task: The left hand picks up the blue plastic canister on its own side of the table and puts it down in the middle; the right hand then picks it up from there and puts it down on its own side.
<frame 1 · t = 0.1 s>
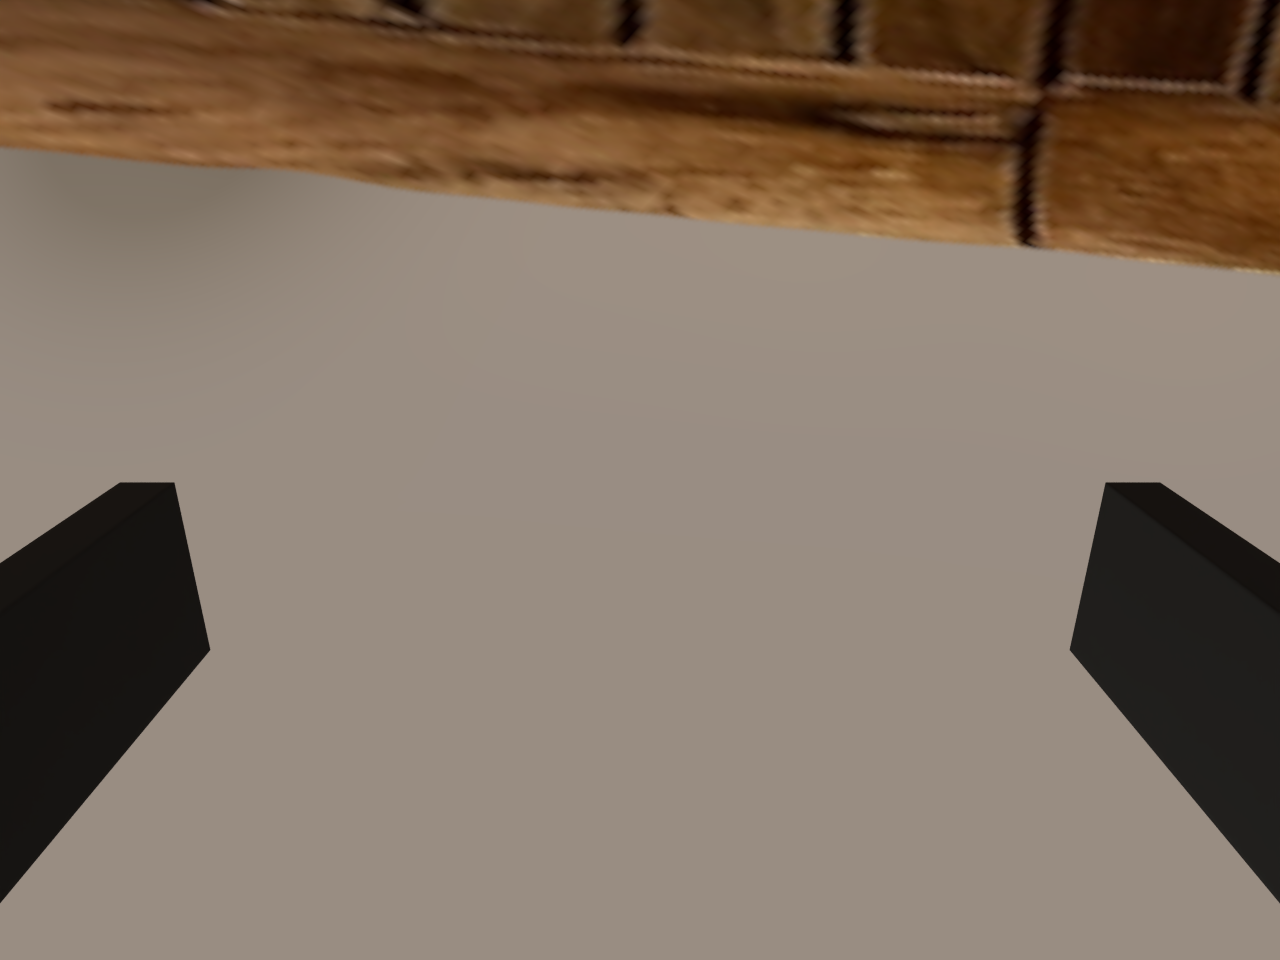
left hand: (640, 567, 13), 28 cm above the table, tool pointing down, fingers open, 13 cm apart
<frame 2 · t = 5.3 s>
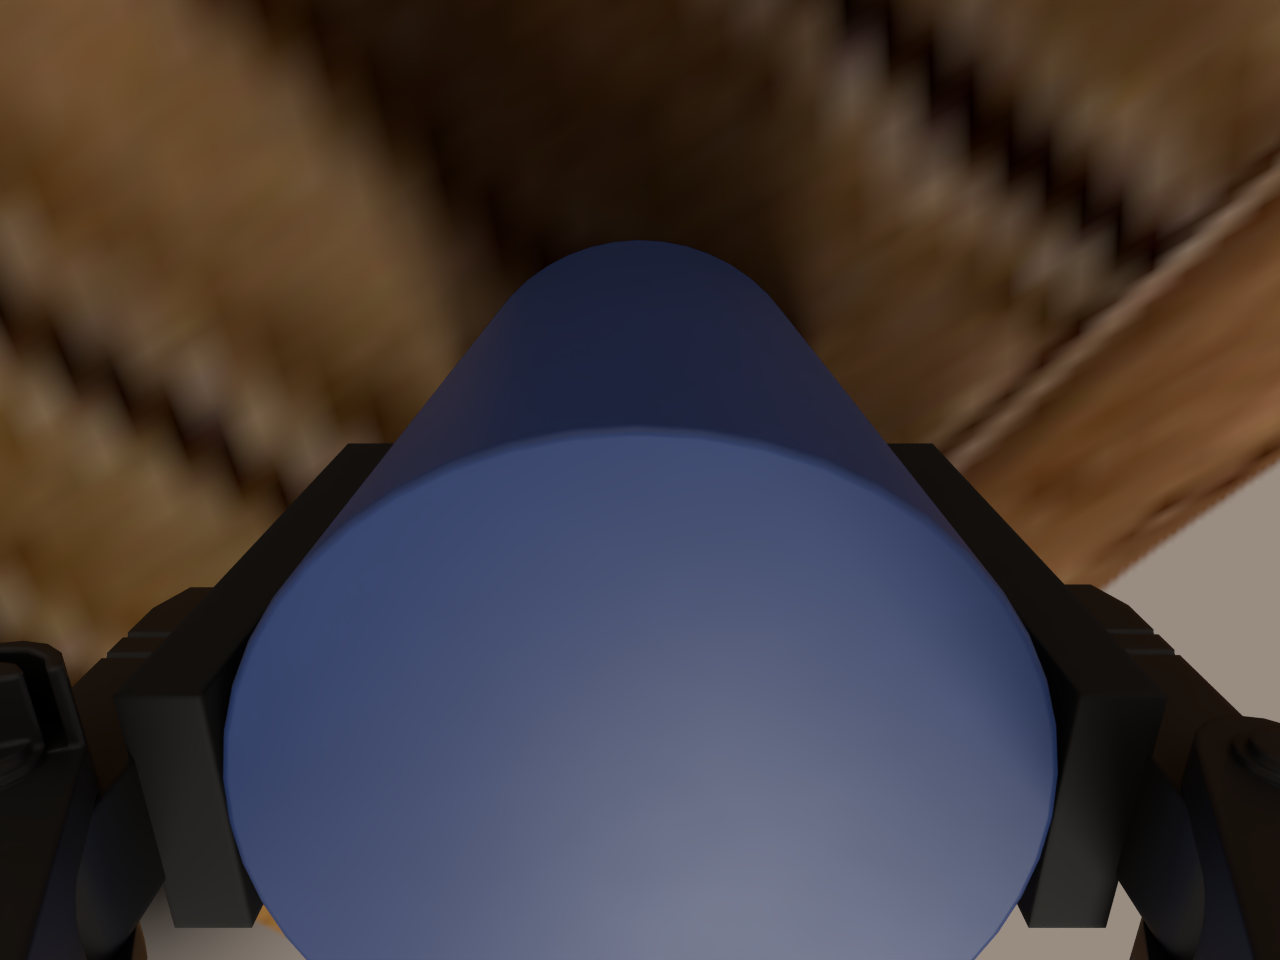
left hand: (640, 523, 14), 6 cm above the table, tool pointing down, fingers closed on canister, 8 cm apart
canister: (640, 416, 19), on the table, touching left hand
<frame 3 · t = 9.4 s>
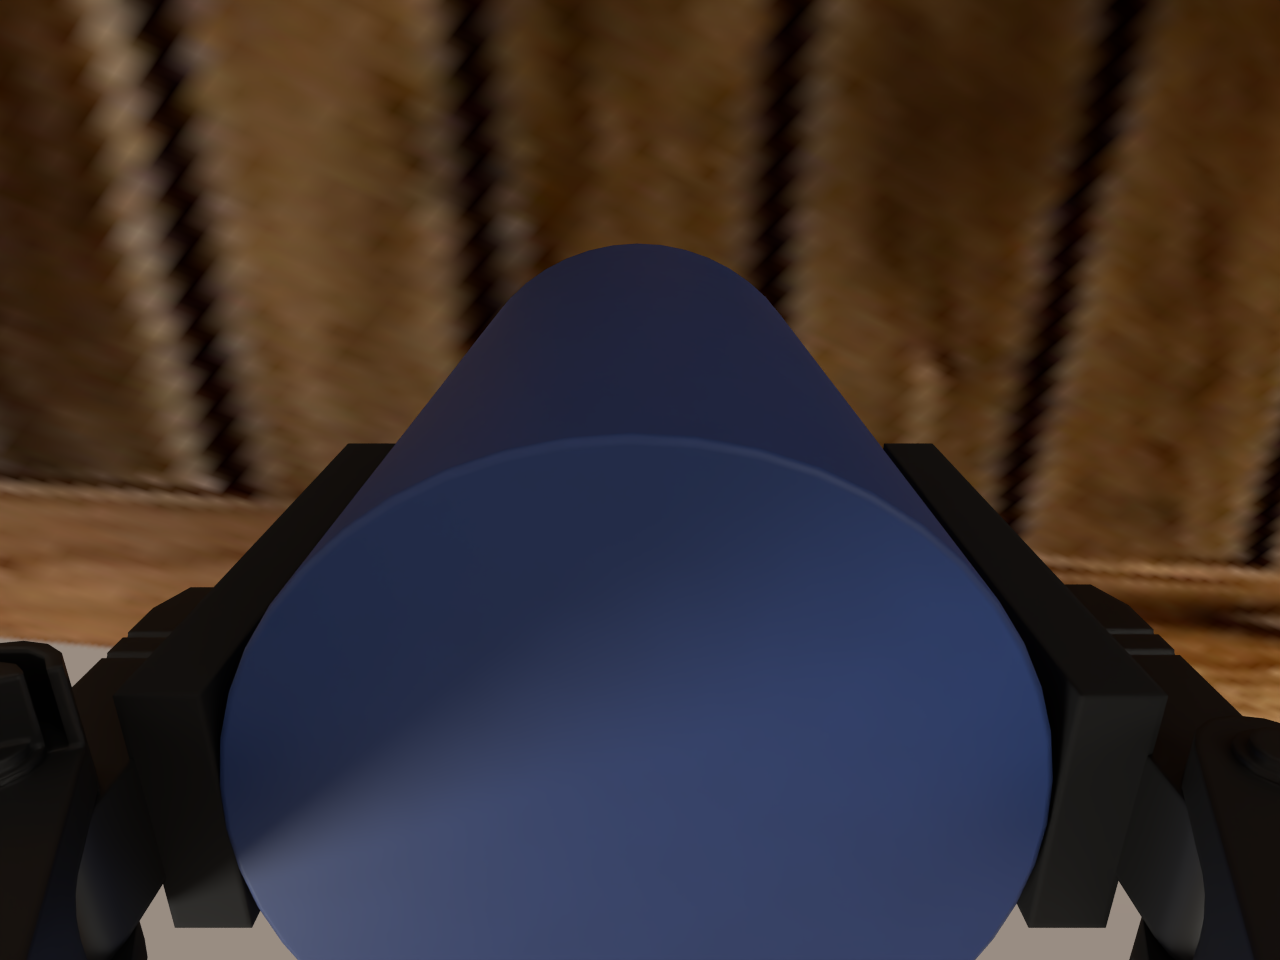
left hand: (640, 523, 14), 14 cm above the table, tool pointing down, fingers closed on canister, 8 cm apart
canister: (638, 419, 19), point 8 cm above the table, touching left hand
when the left hand's fingers open (7 cm above the table, at t = 13.3 s): canister drops 1 cm, on the table.
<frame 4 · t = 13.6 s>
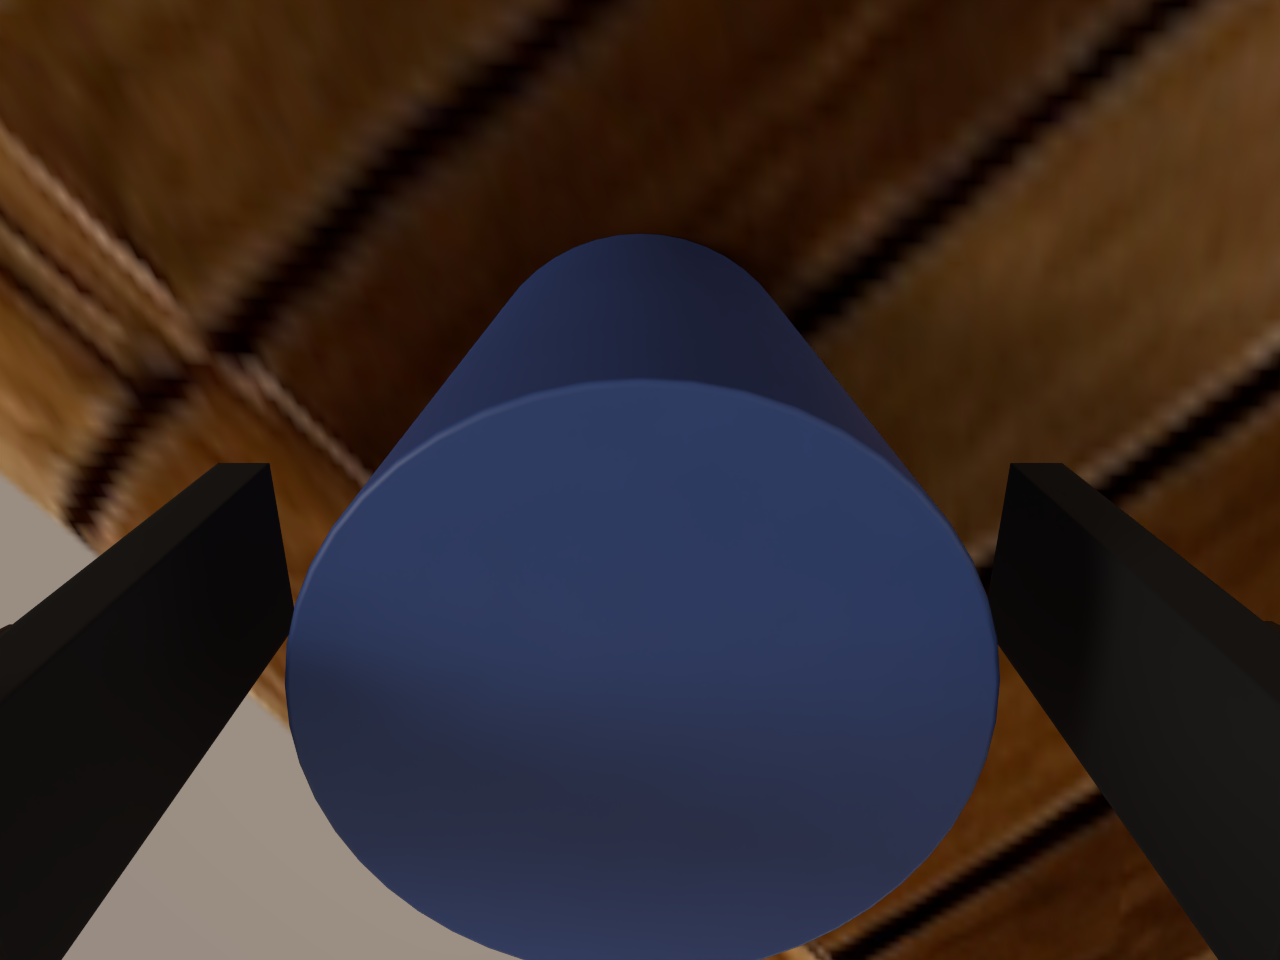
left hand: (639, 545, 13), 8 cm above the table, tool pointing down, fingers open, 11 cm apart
canister: (641, 399, 21), on the table
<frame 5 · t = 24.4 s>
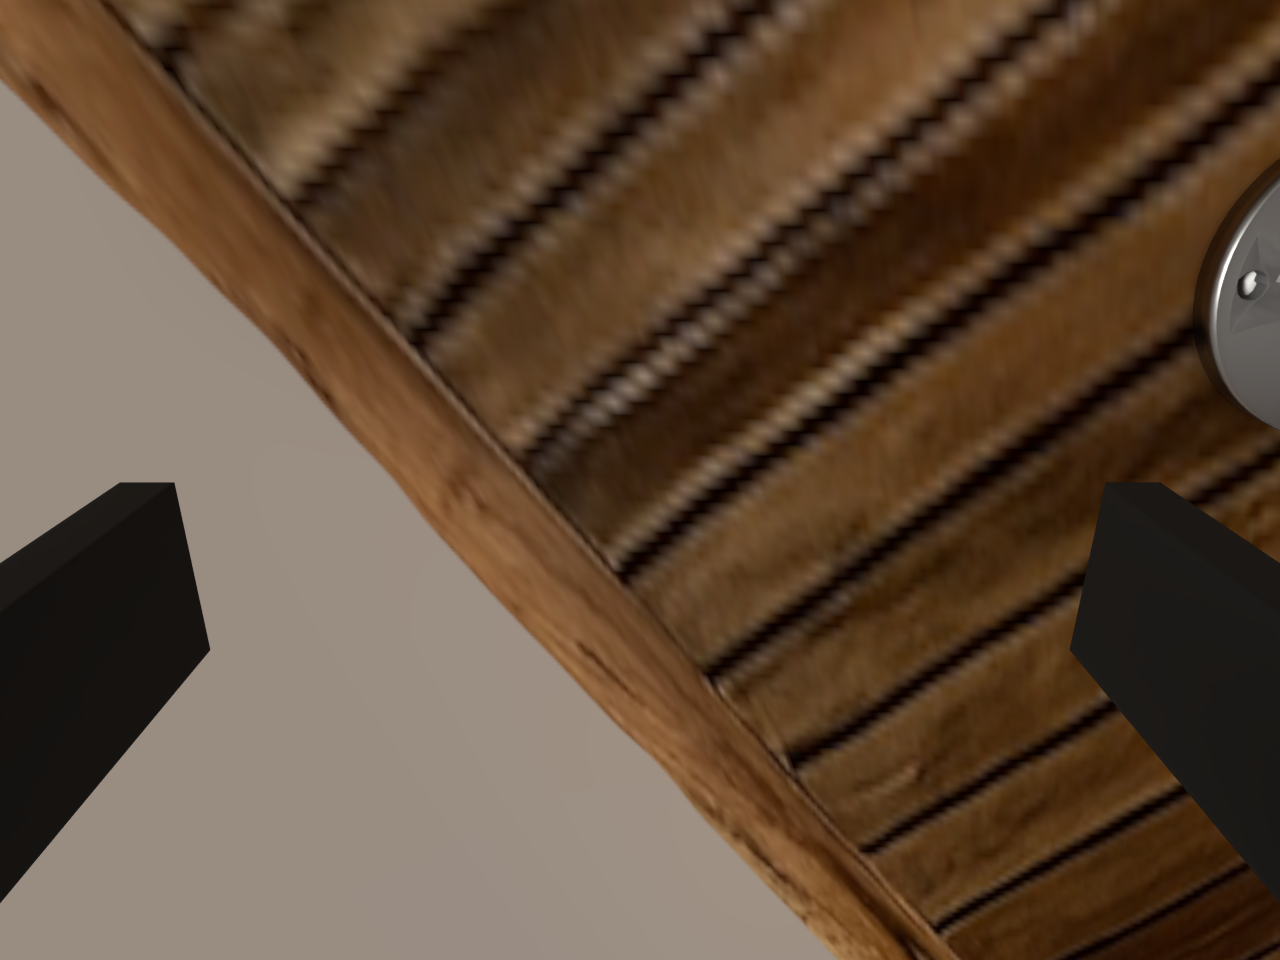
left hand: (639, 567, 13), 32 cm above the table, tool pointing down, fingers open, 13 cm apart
when the right hand's fingers open (7 cm above the table, at t = 28.9 s): canister drops 1 cm, on the table.
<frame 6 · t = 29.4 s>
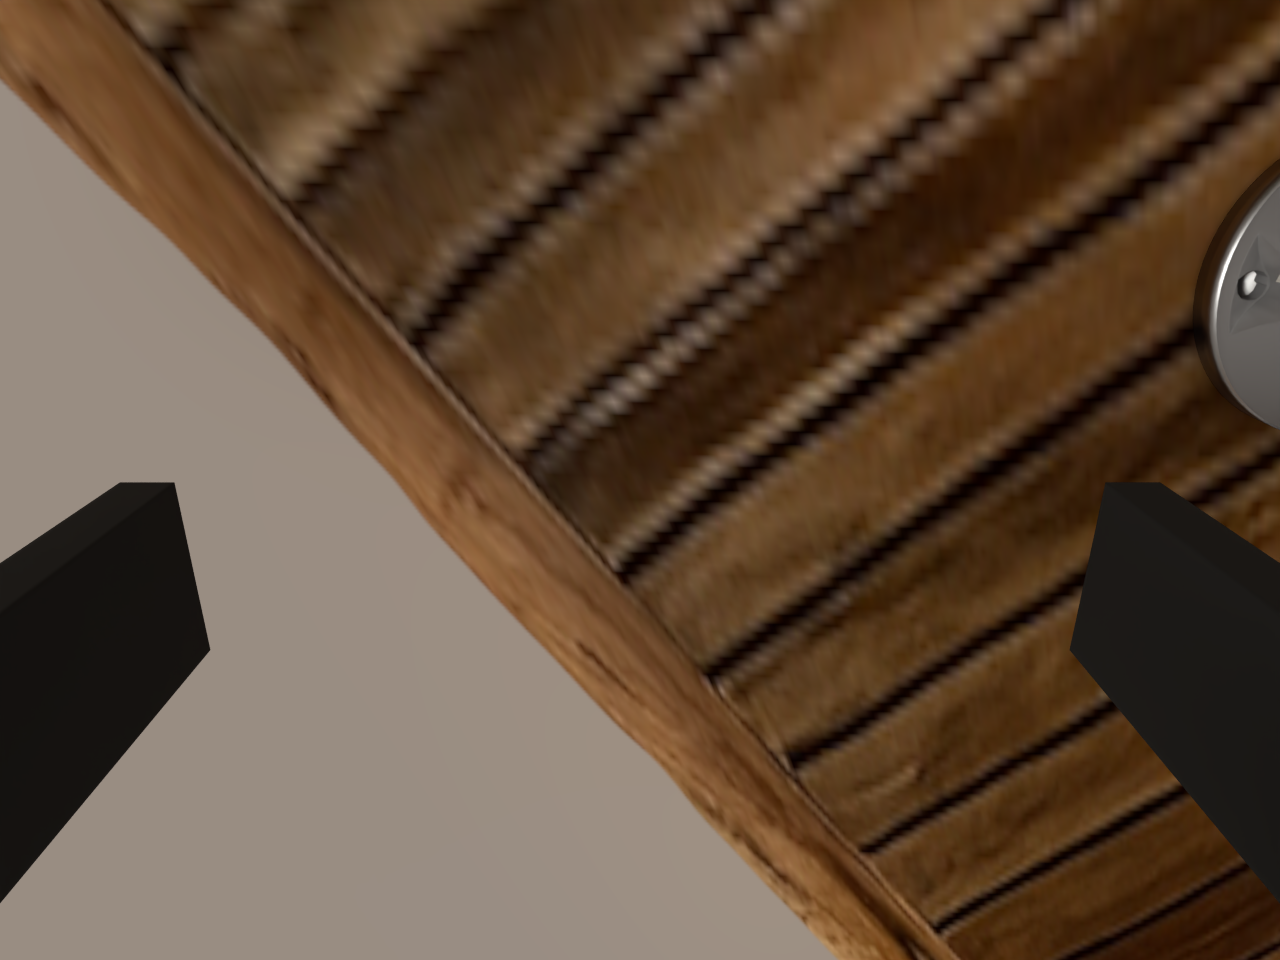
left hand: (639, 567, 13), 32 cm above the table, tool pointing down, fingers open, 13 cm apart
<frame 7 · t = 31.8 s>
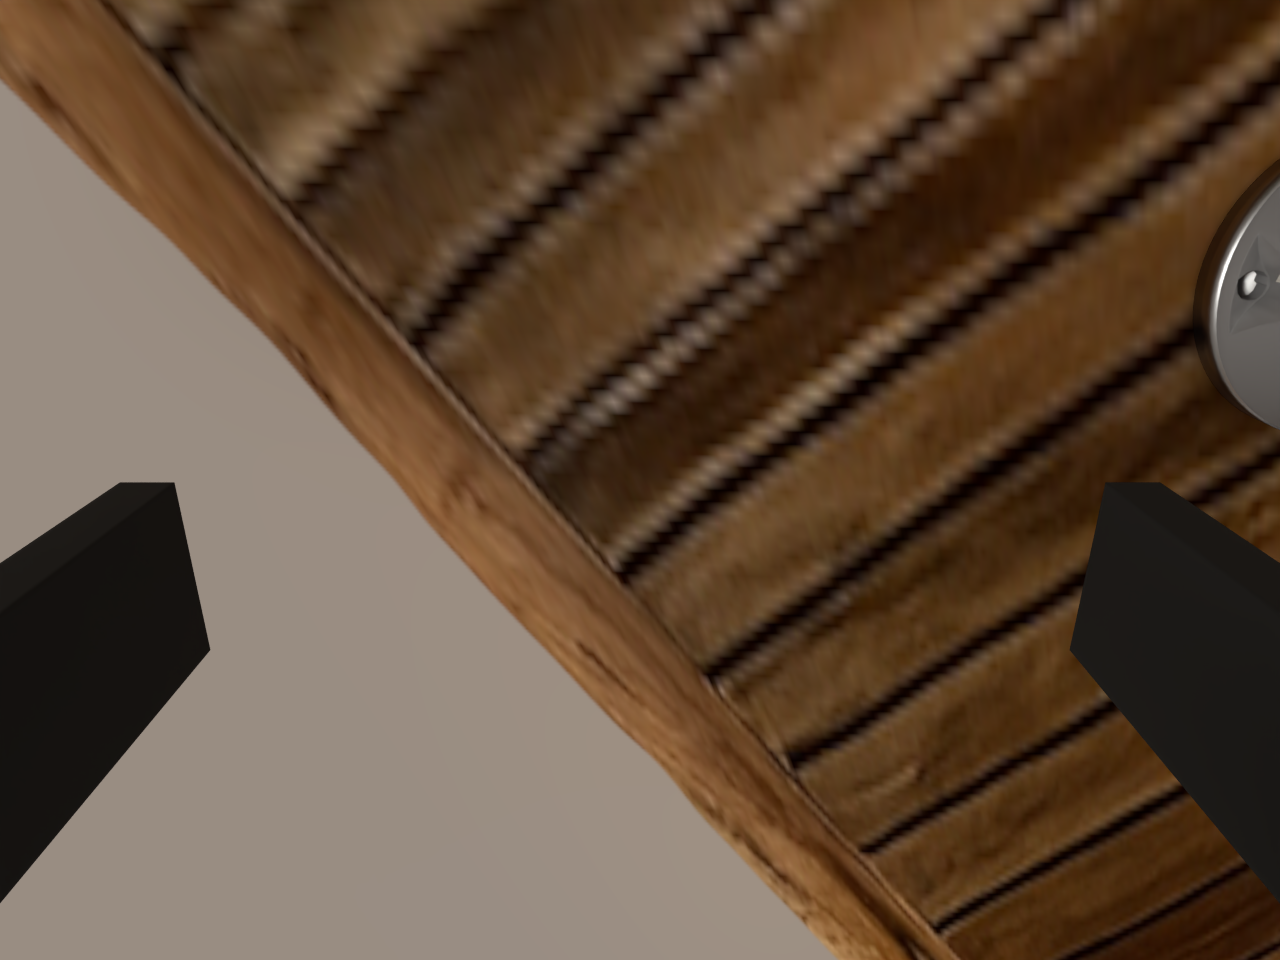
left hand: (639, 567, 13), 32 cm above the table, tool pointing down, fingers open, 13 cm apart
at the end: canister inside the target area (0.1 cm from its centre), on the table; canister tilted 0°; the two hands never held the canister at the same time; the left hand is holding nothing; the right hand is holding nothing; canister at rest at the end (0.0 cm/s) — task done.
